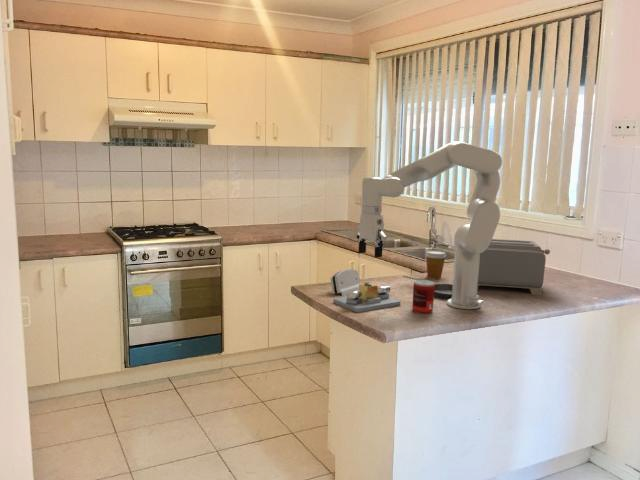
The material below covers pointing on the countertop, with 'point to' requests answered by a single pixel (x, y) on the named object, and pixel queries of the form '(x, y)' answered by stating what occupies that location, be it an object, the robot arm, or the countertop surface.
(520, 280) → the toaster
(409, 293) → the countertop surface
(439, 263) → the disposable coffee cup
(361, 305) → the board
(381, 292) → the shaft
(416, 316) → the countertop surface
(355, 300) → the shaft
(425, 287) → the canned food
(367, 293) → the coupler
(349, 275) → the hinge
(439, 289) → the frying pan
